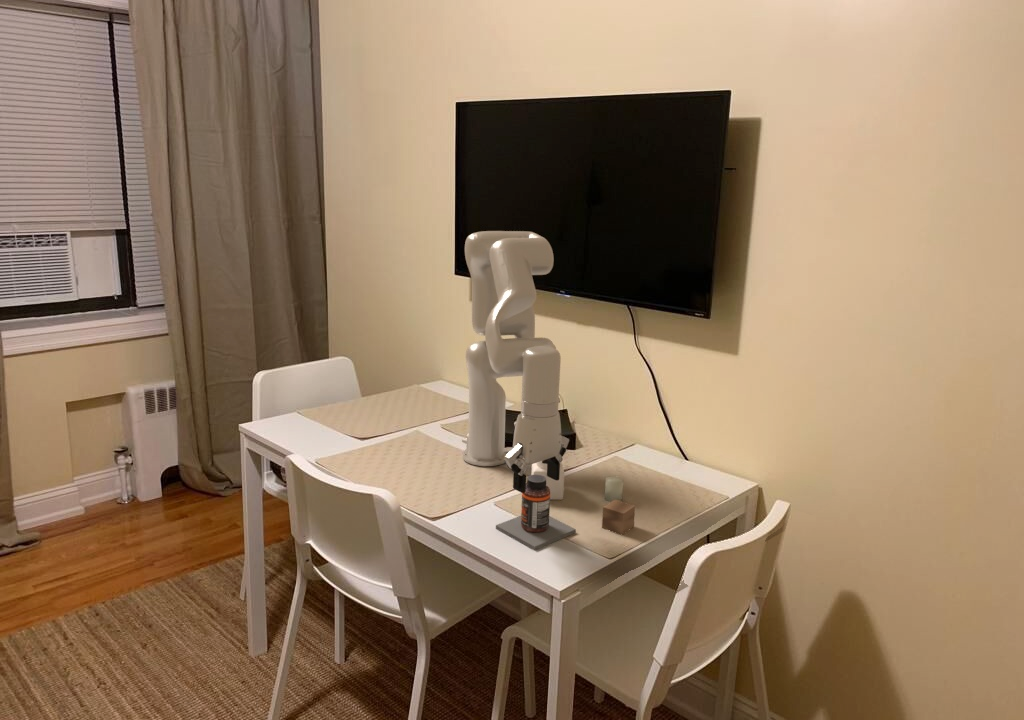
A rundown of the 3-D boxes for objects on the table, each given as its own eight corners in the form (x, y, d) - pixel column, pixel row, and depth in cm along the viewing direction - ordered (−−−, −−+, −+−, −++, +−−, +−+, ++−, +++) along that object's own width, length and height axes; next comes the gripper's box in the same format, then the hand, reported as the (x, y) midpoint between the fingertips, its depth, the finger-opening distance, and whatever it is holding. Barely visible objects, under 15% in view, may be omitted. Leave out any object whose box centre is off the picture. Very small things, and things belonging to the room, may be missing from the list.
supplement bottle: (516, 522, 162) (518, 473, 159) (542, 518, 164) (544, 470, 161) (527, 535, 156) (529, 485, 154) (553, 531, 159) (555, 481, 156)
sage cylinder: (601, 498, 177) (602, 478, 175) (612, 494, 179) (613, 474, 178) (614, 504, 174) (615, 484, 173) (625, 499, 176) (626, 480, 175)
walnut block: (601, 528, 162) (603, 506, 161) (613, 520, 166) (614, 499, 165) (622, 535, 160) (623, 513, 158) (633, 527, 163) (635, 505, 162)
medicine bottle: (560, 487, 182) (562, 440, 179) (563, 500, 175) (565, 451, 172) (530, 487, 182) (532, 440, 179) (532, 499, 175) (534, 451, 172)
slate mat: (495, 528, 161) (495, 525, 161) (536, 512, 169) (536, 509, 168) (534, 550, 152) (534, 546, 152) (575, 532, 160) (575, 529, 160)
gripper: (556, 394, 162) (553, 468, 167) (495, 410, 151) (493, 489, 155) (582, 403, 156) (577, 479, 161) (520, 421, 145) (517, 502, 150)
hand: (536, 484), depth 158 cm, fingers open, 9 cm apart
